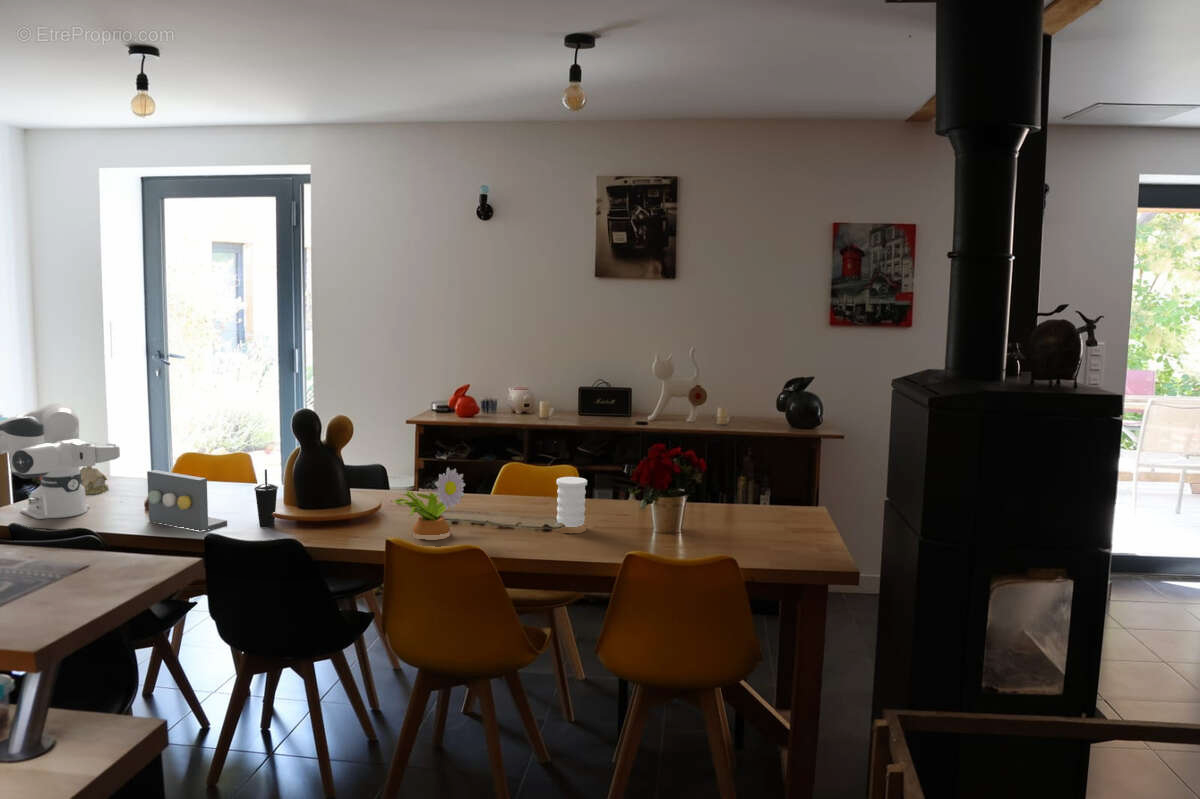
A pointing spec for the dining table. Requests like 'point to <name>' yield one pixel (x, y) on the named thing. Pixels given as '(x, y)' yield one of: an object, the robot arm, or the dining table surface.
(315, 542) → the dining table surface
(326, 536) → the dining table surface
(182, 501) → the button mustard
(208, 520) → the button panel
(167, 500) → the button cream
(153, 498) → the button sage
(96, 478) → the ceramic model
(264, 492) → the drinking cup
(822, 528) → the dining table surface
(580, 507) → the decorative container
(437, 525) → the decorative plant
